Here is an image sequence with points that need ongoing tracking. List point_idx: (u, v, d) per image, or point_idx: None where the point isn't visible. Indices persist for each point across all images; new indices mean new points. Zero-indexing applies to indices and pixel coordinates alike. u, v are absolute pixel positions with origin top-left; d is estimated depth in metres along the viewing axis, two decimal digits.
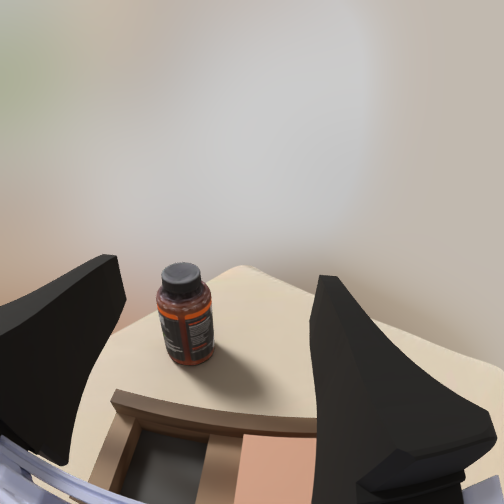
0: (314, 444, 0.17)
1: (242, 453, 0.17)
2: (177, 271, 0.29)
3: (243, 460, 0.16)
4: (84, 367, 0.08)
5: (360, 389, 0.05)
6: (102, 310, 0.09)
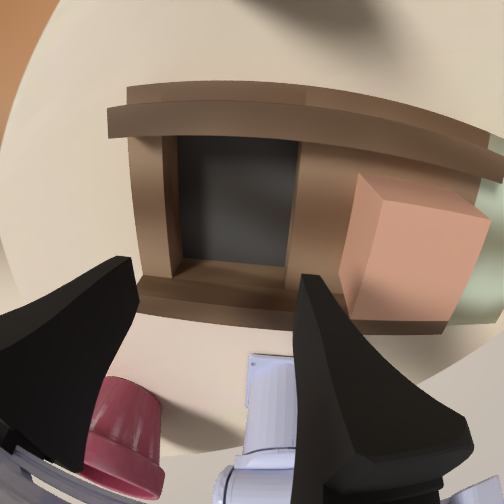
0: (475, 228, 0.10)
1: (376, 238, 0.11)
2: None
3: (376, 251, 0.11)
4: (99, 371, 0.08)
5: (329, 389, 0.05)
6: (117, 313, 0.09)
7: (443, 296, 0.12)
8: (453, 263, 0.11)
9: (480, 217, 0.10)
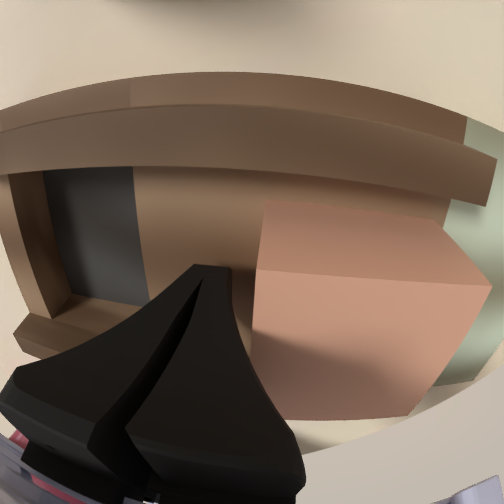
0: (461, 302, 0.06)
1: (256, 329, 0.07)
2: None
3: (261, 346, 0.07)
4: None
5: (167, 374, 0.05)
6: None
7: (397, 394, 0.08)
8: (414, 356, 0.07)
9: (472, 284, 0.06)
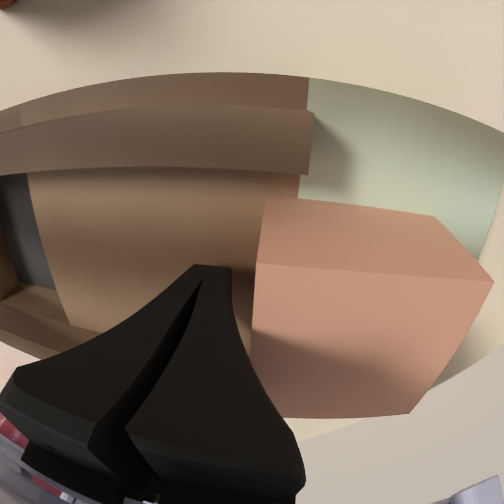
0: (463, 298, 0.06)
1: (256, 324, 0.07)
2: None
3: (261, 342, 0.07)
4: None
5: (167, 373, 0.05)
6: None
7: (398, 391, 0.08)
8: (416, 352, 0.07)
9: (474, 279, 0.06)
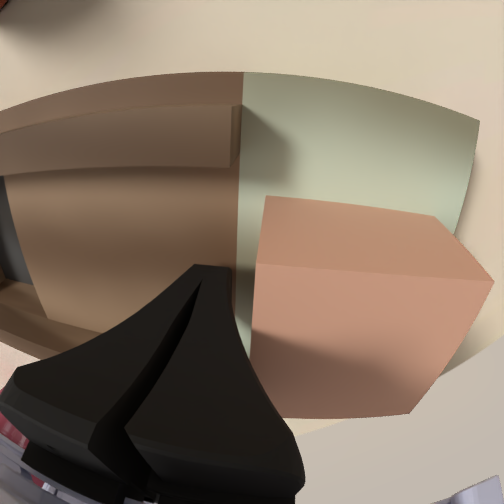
0: (463, 298, 0.06)
1: (256, 324, 0.07)
2: None
3: (260, 342, 0.07)
4: None
5: (167, 373, 0.05)
6: None
7: (398, 391, 0.08)
8: (416, 352, 0.07)
9: (474, 279, 0.06)
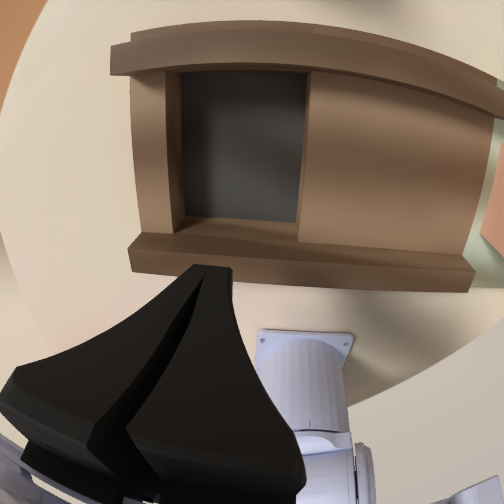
0: None
1: None
2: None
3: None
4: None
5: (168, 373, 0.05)
6: None
7: None
8: None
9: None
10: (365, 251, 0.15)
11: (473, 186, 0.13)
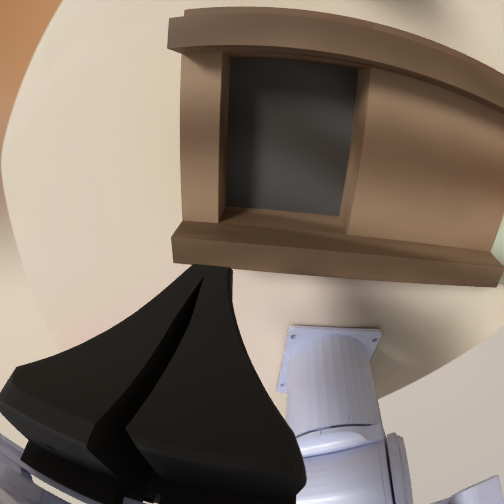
0: None
1: None
2: None
3: None
4: None
5: (168, 373, 0.05)
6: None
7: None
8: None
9: None
10: (409, 245, 0.15)
11: (503, 187, 0.13)
